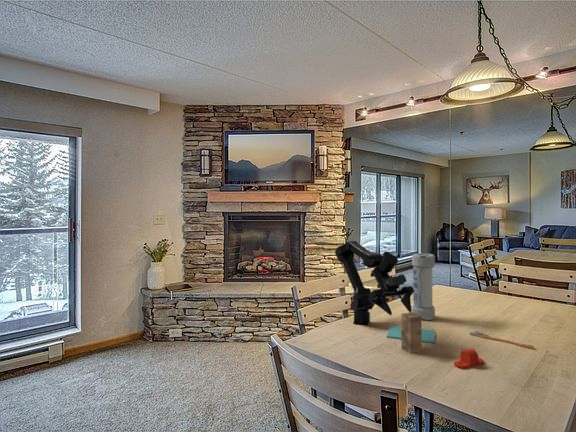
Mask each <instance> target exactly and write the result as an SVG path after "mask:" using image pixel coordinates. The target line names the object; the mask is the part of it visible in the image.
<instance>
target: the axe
mask: <svg viewBox="0 0 576 432" xmlns="http://www.w3.org/2000/svg"><path fill="white" fill-rule="evenodd" d="M469 335H470V336H471V337H477V338H481V339H486V340H490V341H491V340H492V341H497V342H502V343H506V344H512V345H514V346H517V347H521V348H525V349H528V350H535V346H534V345H533V344H532V345H531V344H525V343H520V342H515V341H513V340H512V341H511V340H509V339H502V338H497V337H493V336H489V334H487V333H485V332H481V331H477V330H473V331H470V332H469Z"/></svg>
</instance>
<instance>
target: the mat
mask: <svg viewBox="0 0 576 432" xmlns="http://www.w3.org/2000/svg"><path fill="white" fill-rule="evenodd" d="M435 334H436V330H434V329H426V328H422V343H427V344H436V335H435ZM386 338H388V339H389V338H390V339H397V340H401V325H400V326H399V325H389V329H388V331H387V334H386Z"/></svg>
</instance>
